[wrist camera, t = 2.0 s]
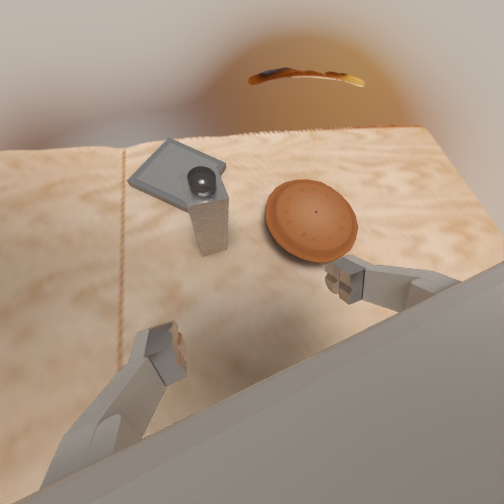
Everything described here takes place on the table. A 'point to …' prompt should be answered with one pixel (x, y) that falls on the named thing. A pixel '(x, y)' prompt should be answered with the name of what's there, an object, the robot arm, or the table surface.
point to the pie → (311, 220)
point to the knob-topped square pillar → (206, 207)
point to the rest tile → (170, 171)
